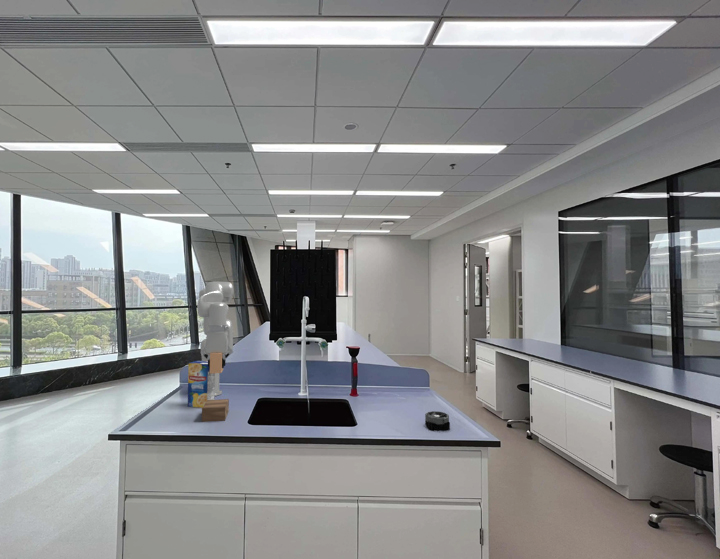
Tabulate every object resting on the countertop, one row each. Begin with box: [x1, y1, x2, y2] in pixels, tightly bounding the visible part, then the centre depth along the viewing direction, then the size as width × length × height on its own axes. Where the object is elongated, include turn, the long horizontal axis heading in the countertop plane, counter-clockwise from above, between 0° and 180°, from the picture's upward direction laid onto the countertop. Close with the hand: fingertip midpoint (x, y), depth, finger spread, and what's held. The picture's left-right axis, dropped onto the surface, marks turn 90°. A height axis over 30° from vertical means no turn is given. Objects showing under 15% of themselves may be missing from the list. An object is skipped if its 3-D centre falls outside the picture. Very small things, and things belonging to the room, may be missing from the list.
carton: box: [210, 353, 224, 374], centre depth 188 cm, size 7×5×9 cm
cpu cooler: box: [424, 410, 451, 432], centre depth 176 cm, size 10×6×10 cm
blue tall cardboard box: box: [187, 360, 216, 409], centre depth 206 cm, size 7×11×22 cm, turn 79°
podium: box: [201, 398, 230, 423], centre depth 188 cm, size 14×10×6 cm
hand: (216, 367), depth 188 cm, fingers closed on carton, 5 cm apart
